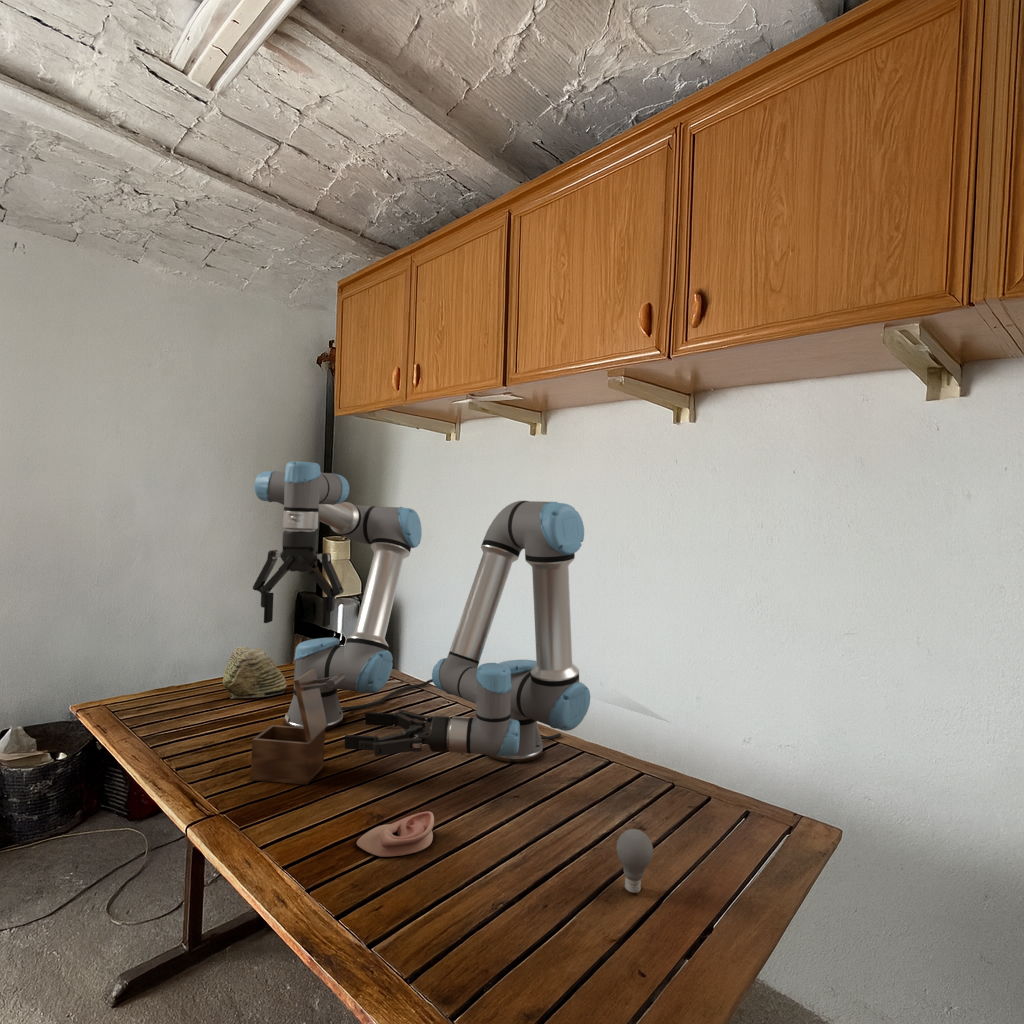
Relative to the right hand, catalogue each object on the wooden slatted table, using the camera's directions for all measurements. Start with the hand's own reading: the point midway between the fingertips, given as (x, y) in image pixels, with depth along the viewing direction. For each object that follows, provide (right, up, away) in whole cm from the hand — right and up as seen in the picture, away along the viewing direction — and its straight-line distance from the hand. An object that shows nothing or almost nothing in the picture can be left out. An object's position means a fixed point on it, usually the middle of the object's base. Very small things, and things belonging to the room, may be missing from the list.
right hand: (355, 729), depth 142 cm
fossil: (-46, -9, +56) cm, 73 cm away
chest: (-16, -11, +3) cm, 20 cm away
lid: (-11, +5, +2) cm, 12 cm away
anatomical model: (+13, -13, -24) cm, 30 cm away
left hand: (-14, +23, +2) cm, 27 cm away
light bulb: (+55, -15, -36) cm, 67 cm away
